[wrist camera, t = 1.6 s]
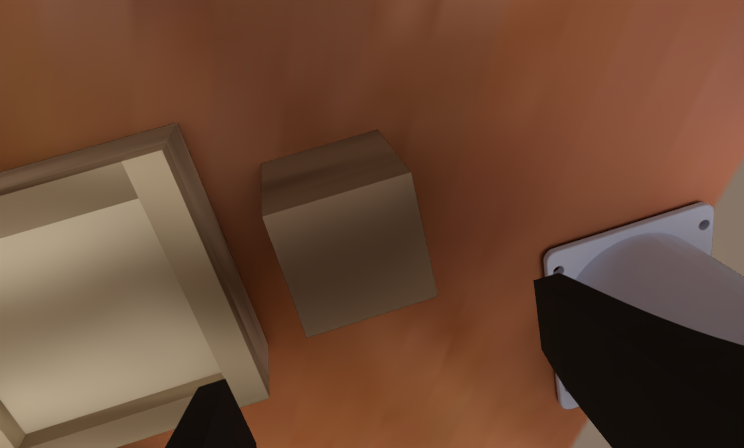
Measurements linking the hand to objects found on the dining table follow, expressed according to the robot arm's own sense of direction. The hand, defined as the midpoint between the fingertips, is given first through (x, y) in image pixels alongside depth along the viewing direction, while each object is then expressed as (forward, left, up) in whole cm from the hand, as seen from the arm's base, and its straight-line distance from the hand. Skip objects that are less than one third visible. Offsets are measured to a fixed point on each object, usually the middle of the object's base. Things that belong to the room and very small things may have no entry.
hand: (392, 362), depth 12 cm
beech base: (-1, +9, -10) cm, 14 cm away
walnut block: (0, 0, -10) cm, 10 cm away
